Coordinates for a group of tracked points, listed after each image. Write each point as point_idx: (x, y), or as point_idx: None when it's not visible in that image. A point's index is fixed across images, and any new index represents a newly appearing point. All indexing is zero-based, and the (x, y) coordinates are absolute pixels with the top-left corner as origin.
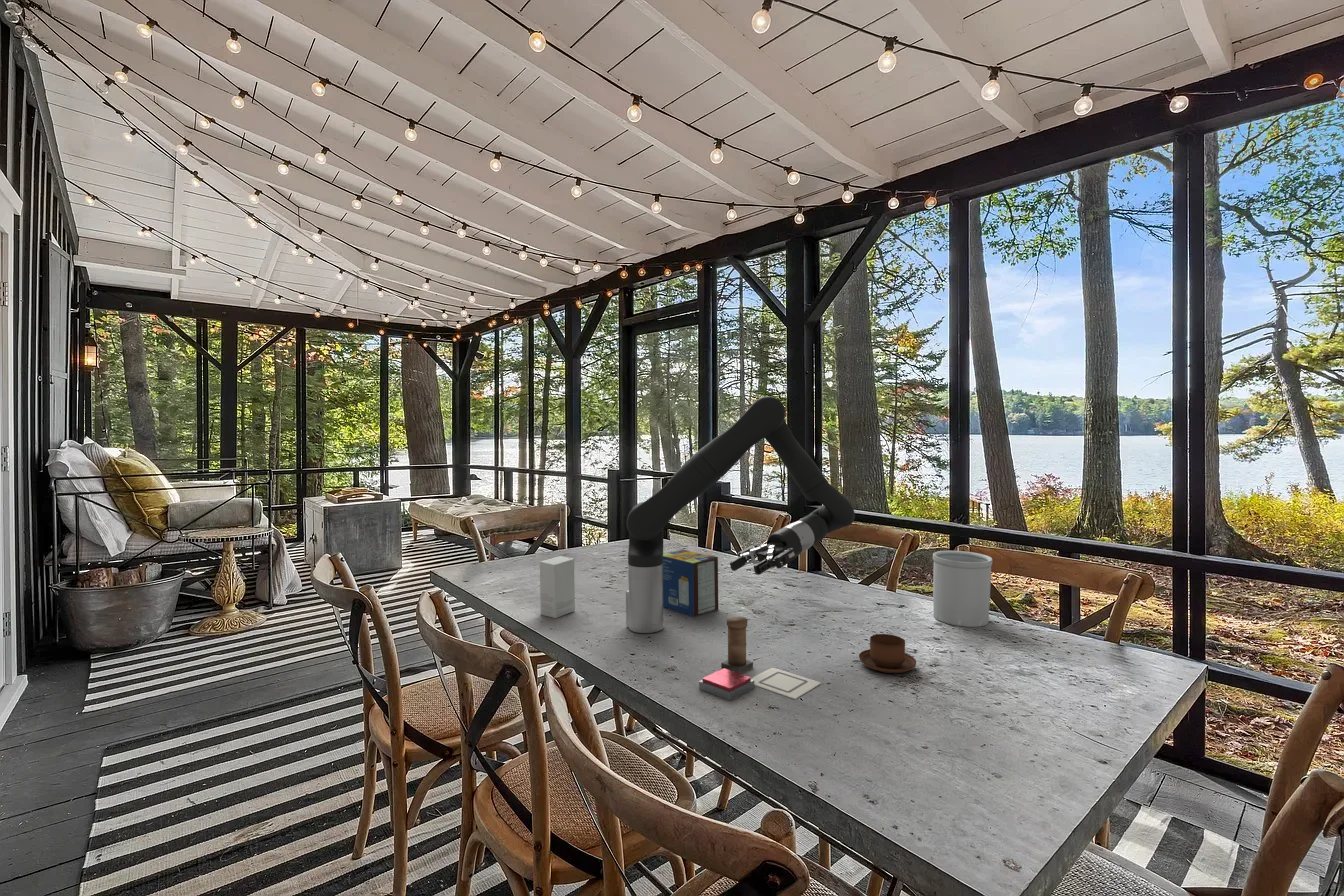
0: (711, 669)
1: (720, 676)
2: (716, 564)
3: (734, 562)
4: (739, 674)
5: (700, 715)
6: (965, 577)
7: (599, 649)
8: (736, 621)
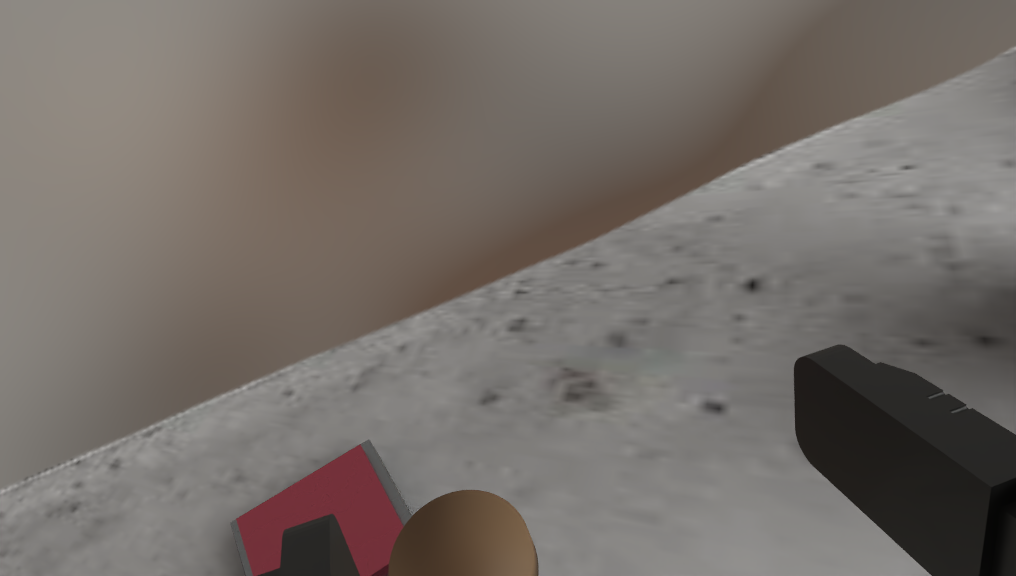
0: (537, 538)
1: (344, 511)
2: None
3: (834, 390)
4: None
5: (220, 429)
6: None
7: (806, 202)
8: (422, 542)
